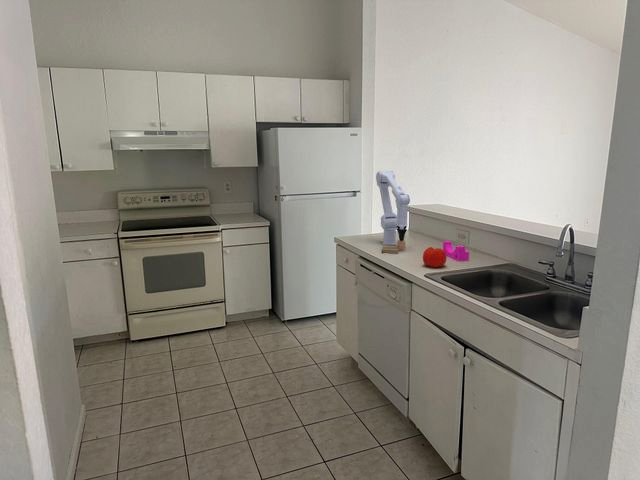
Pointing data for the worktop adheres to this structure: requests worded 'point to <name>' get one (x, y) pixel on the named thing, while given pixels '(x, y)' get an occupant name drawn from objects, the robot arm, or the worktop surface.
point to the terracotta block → (401, 244)
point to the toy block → (455, 252)
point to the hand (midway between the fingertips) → (401, 239)
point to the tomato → (434, 257)
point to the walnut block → (390, 249)
